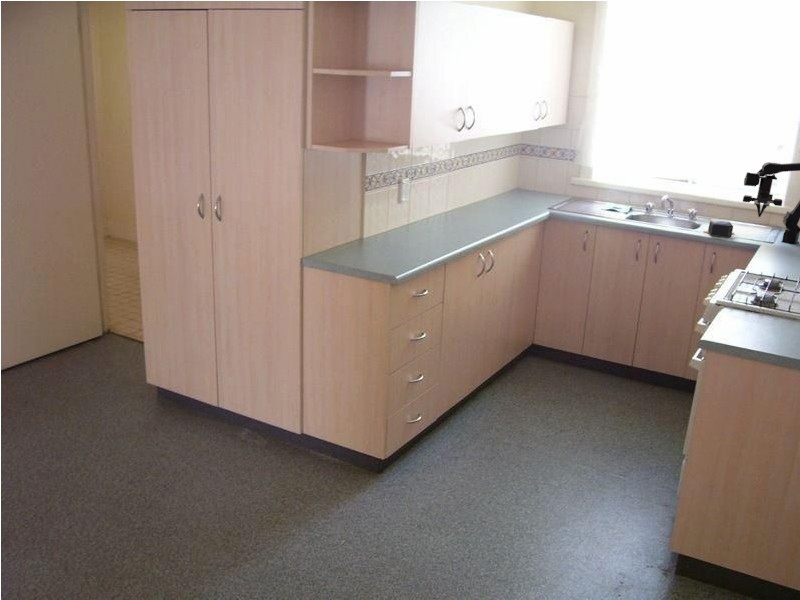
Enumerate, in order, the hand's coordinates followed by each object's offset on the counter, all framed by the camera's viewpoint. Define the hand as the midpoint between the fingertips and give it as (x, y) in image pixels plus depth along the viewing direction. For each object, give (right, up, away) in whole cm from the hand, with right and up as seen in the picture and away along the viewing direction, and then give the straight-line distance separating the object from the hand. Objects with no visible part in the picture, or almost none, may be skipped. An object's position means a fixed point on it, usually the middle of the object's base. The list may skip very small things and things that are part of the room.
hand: (759, 216), depth 414 cm
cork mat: (-16, -8, +13) cm, 22 cm away
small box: (-12, -6, +6) cm, 15 cm away
